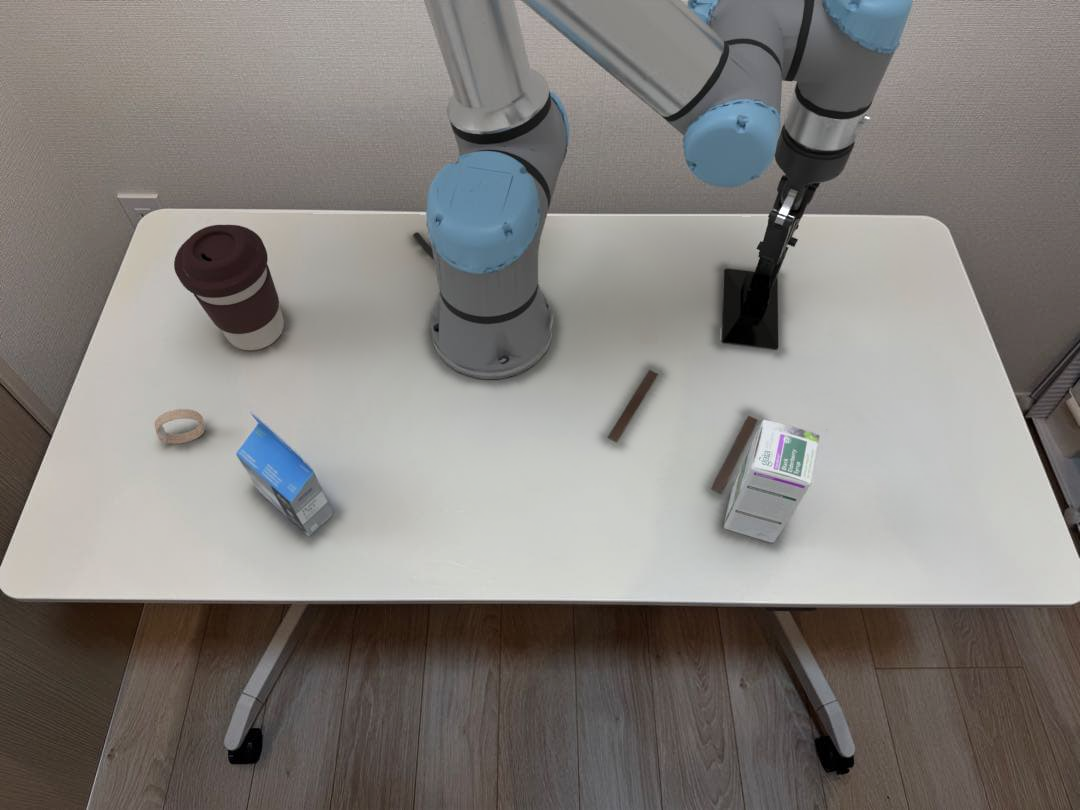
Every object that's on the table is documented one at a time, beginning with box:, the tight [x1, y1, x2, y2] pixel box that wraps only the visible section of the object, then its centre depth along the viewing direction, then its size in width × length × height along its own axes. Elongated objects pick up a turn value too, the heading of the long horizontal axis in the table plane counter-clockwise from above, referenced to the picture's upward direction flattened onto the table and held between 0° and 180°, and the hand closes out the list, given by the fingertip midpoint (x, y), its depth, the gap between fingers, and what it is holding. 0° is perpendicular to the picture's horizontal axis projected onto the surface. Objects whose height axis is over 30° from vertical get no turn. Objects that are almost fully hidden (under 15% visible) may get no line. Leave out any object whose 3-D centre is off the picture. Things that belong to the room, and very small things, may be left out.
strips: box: [607, 369, 759, 495], centre depth 89 cm, size 14×11×1 cm
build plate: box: [719, 267, 779, 351], centre depth 97 cm, size 12×7×5 cm, turn 171°
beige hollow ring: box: [154, 408, 205, 445], centre depth 87 cm, size 3×5×5 cm, turn 111°
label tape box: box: [235, 411, 335, 537], centre depth 79 cm, size 9×4×12 cm, turn 50°
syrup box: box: [722, 419, 821, 544], centre depth 78 cm, size 6×6×14 cm
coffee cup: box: [173, 224, 285, 351], centre depth 91 cm, size 10×10×15 cm
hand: (762, 282), depth 99 cm, fingers closed
